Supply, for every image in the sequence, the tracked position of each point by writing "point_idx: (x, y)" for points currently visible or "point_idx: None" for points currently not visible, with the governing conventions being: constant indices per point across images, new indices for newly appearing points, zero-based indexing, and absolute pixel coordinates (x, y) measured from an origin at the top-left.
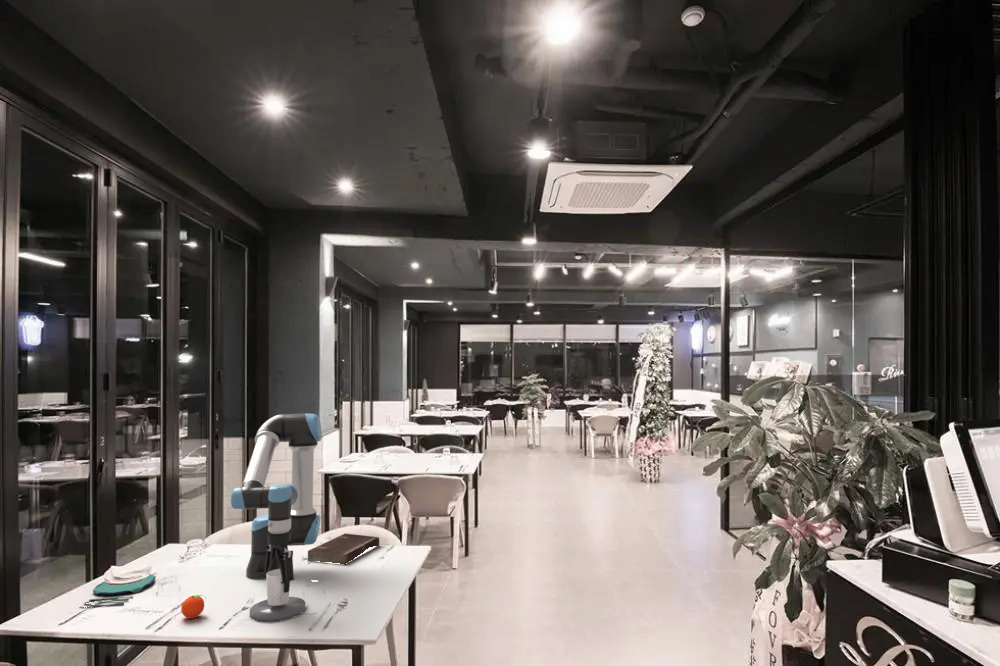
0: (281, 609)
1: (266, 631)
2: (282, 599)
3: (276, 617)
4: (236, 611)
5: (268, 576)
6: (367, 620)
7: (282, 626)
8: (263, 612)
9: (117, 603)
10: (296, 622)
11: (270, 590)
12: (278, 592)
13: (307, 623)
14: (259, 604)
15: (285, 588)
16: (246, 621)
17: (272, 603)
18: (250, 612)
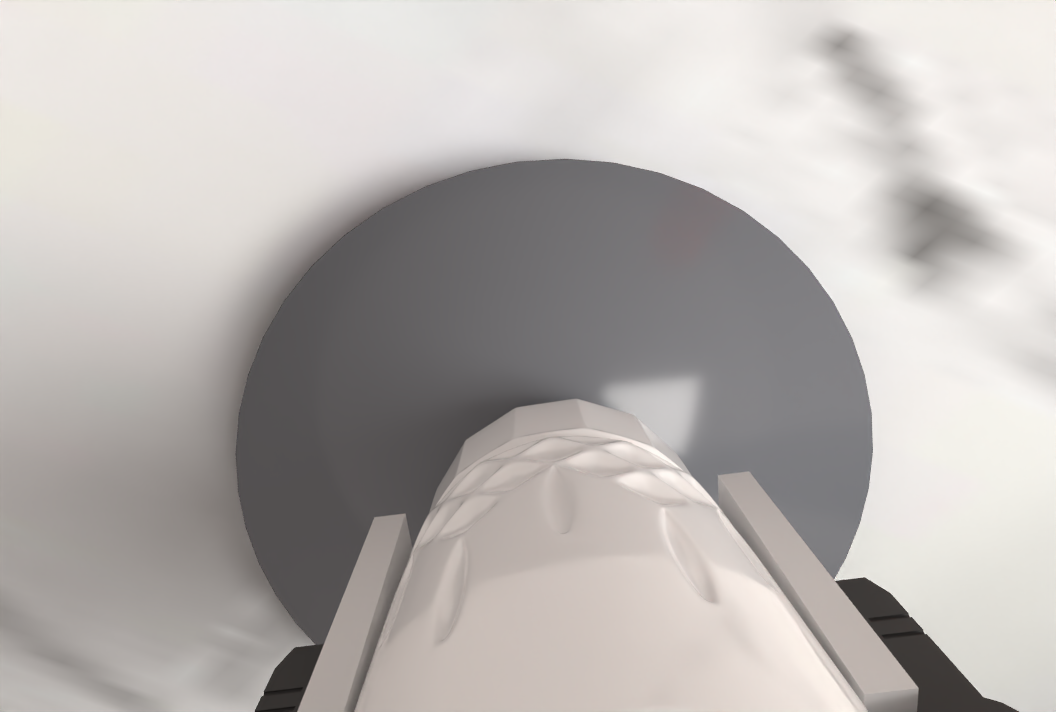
0: (435, 482)
1: (52, 146)
2: (365, 552)
3: (256, 355)
4: (930, 109)
5: (567, 702)
6: None
7: (92, 337)
8: (502, 296)
9: None
10: (112, 482)
11: (496, 503)
12: (405, 580)
13: (18, 546)
14: (792, 358)
15: (263, 710)
16: (522, 80)
17: (487, 433)
18: (624, 169)
